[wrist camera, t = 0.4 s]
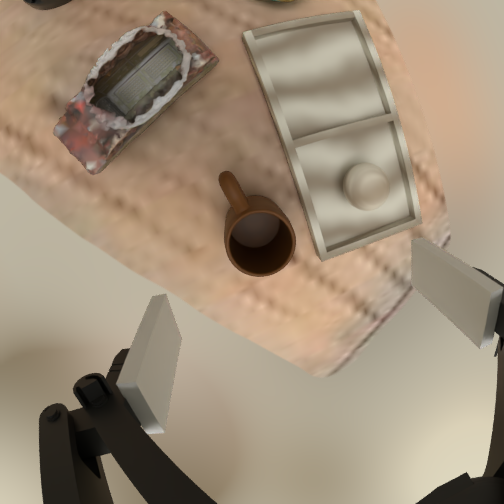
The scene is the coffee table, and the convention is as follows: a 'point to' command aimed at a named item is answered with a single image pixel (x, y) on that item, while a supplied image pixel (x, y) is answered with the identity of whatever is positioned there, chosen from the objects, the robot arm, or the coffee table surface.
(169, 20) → the decorative box
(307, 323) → the coffee table surface
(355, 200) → the wooden egg
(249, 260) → the mug
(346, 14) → the divided tray
